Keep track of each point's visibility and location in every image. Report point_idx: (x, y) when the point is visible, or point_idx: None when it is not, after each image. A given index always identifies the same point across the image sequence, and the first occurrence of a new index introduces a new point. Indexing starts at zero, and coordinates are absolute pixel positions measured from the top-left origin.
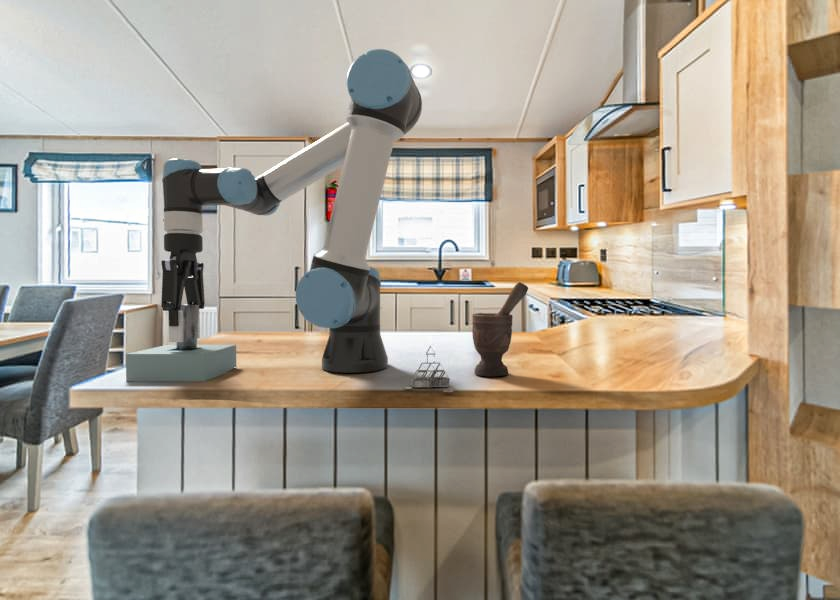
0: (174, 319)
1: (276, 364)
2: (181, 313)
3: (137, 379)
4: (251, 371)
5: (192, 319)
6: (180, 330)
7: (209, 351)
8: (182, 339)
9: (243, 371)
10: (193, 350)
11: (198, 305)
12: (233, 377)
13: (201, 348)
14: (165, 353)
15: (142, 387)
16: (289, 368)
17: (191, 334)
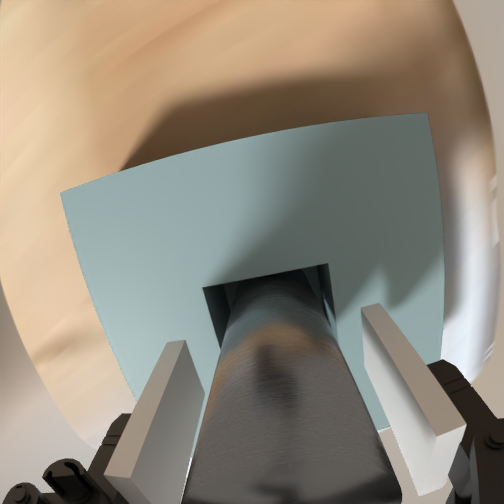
0: (470, 389)
1: (24, 105)
2: (455, 410)
3: None
4: (157, 82)
5: (329, 369)
6: (405, 340)
7: (341, 142)
8: (376, 310)
9: (163, 110)
10: (322, 252)
11: (259, 467)
12: (289, 69)
13: (237, 267)
14: (428, 304)
15: (473, 257)
16: (85, 11)
17: (311, 316)
